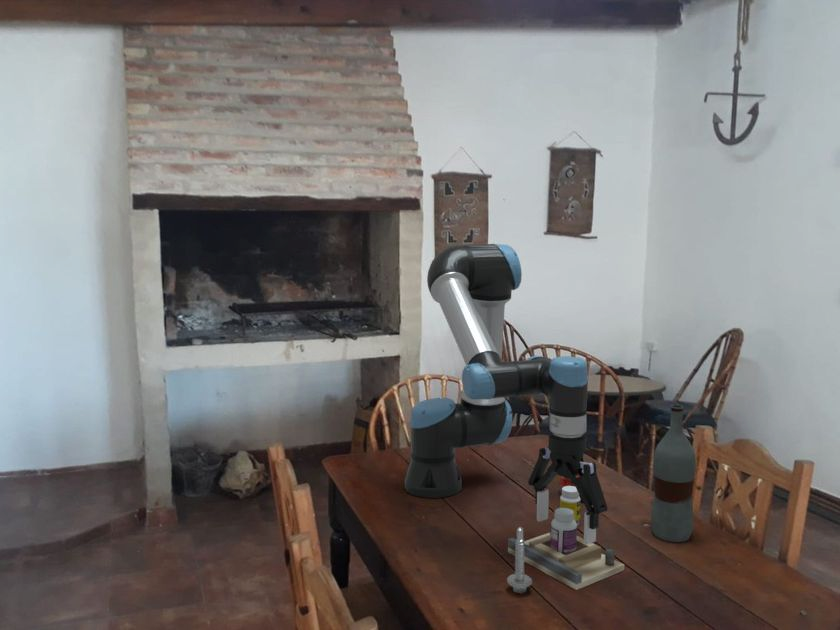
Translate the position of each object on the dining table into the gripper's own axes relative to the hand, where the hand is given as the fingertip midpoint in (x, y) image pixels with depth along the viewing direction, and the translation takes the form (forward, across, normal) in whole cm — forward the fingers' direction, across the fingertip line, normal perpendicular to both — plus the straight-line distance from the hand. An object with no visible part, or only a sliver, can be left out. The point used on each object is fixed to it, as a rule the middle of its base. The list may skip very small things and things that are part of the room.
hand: (565, 530), depth 159 cm
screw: (+7, +4, -16) cm, 18 cm away
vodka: (+7, +5, +29) cm, 30 cm away
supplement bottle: (+7, -13, +15) cm, 21 cm away
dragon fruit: (+7, -23, +29) cm, 38 cm away
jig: (+7, 0, 0) cm, 7 cm away
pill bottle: (+6, 0, 0) cm, 6 cm away
